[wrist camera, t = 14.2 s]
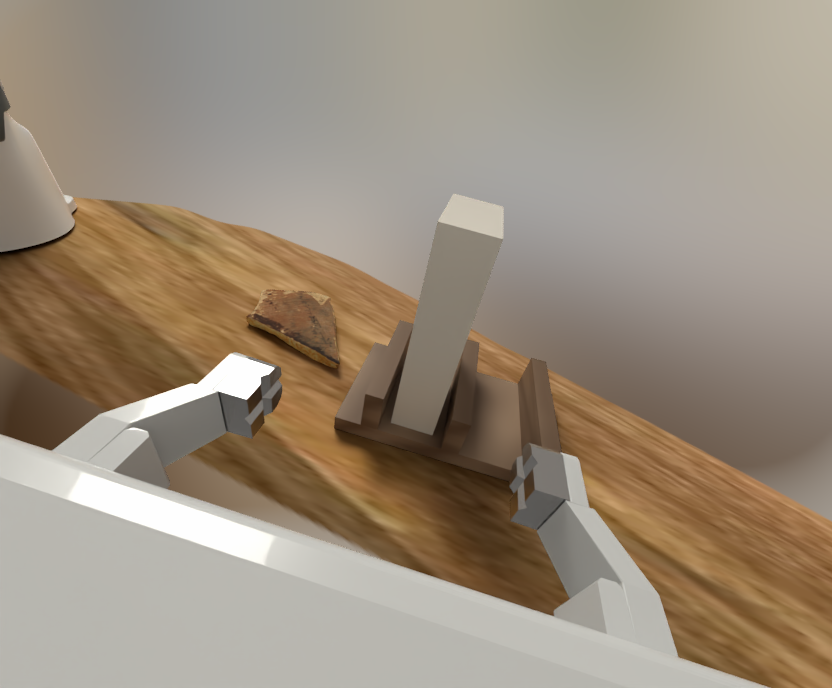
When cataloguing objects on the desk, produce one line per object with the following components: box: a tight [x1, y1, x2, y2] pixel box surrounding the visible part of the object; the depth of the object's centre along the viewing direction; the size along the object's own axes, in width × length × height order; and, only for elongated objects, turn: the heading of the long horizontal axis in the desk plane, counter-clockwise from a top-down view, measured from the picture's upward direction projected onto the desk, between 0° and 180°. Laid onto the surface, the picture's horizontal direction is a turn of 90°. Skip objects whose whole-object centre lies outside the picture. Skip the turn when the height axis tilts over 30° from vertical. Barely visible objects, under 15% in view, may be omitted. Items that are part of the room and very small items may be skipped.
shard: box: [247, 290, 340, 369], centre depth 31 cm, size 11×8×2 cm
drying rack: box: [334, 320, 562, 481], centre depth 26 cm, size 16×9×4 cm, turn 78°
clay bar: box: [391, 194, 503, 435], centre depth 22 cm, size 3×6×14 cm, turn 167°
